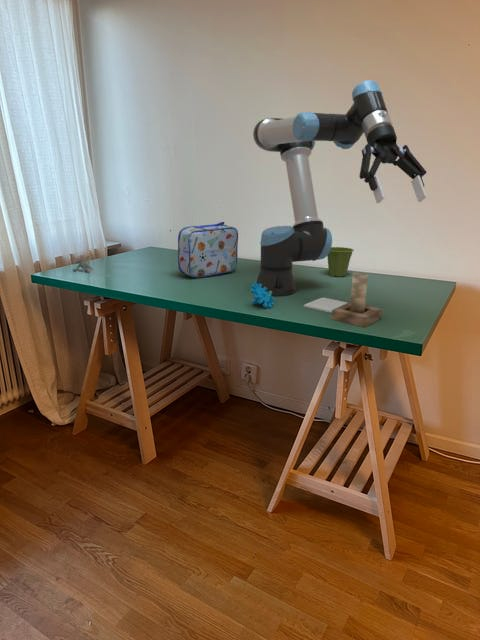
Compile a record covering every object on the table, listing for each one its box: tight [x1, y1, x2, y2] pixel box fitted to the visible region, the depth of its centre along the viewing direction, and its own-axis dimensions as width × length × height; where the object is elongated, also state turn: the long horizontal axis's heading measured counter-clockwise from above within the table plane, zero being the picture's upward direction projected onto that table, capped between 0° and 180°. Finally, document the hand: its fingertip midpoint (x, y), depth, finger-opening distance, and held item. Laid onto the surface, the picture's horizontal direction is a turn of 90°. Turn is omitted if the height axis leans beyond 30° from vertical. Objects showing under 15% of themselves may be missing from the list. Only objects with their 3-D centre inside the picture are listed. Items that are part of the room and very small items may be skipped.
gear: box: [250, 282, 275, 309], centre depth 150 cm, size 11×6×10 cm
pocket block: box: [330, 301, 383, 328], centre depth 137 cm, size 11×11×3 cm
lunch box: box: [177, 221, 239, 278], centre depth 190 cm, size 28×10×22 cm, turn 129°
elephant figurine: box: [72, 255, 94, 274], centre depth 196 cm, size 10×6×9 cm
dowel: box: [349, 272, 369, 314], centre depth 136 cm, size 4×4×14 cm
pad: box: [303, 296, 348, 314], centre depth 150 cm, size 12×12×1 cm
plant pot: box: [326, 246, 354, 278], centre depth 191 cm, size 12×12×11 cm
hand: (402, 200), depth 119 cm, fingers open, 13 cm apart
